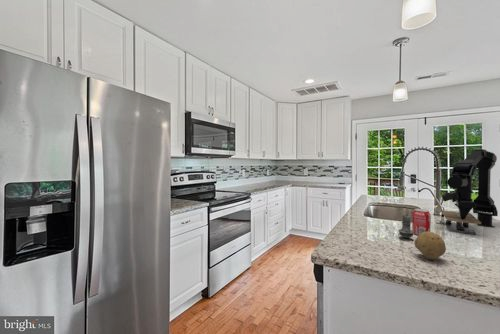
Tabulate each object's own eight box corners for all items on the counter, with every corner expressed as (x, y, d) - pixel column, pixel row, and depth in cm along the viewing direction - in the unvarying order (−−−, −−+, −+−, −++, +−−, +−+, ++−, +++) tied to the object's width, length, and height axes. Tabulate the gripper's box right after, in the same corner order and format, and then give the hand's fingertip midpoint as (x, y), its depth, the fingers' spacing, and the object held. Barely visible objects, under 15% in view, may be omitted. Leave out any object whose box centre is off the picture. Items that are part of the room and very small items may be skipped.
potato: (408, 255, 86) (409, 229, 86) (422, 252, 89) (423, 226, 89) (436, 266, 78) (437, 237, 77) (450, 261, 81) (451, 233, 81)
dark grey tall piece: (416, 241, 100) (417, 214, 100) (401, 240, 102) (402, 214, 101) (410, 237, 106) (410, 211, 106) (396, 236, 107) (396, 211, 107)
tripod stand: (444, 223, 129) (444, 214, 129) (468, 226, 124) (468, 216, 123) (448, 231, 116) (449, 220, 116) (475, 234, 110) (476, 223, 110)
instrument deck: (441, 212, 132) (441, 207, 132) (470, 214, 125) (470, 210, 125) (447, 220, 114) (447, 215, 114) (480, 224, 107) (481, 219, 107)
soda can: (423, 232, 114) (424, 208, 113) (433, 237, 107) (434, 211, 106) (408, 232, 114) (409, 208, 114) (417, 236, 107) (418, 211, 107)
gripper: (440, 185, 125) (439, 213, 125) (445, 188, 109) (444, 220, 110) (468, 186, 118) (466, 216, 119) (477, 189, 103) (476, 224, 103)
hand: (462, 219), depth 113 cm, fingers closed, pressing on instrument deck
